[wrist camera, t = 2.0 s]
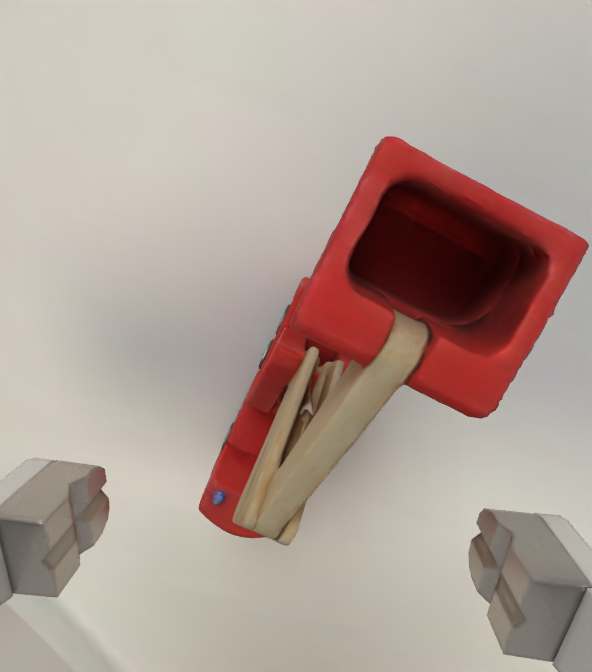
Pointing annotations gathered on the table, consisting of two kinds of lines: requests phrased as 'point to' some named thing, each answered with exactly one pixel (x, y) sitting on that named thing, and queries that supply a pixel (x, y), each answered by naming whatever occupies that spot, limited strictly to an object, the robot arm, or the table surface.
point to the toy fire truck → (389, 329)
